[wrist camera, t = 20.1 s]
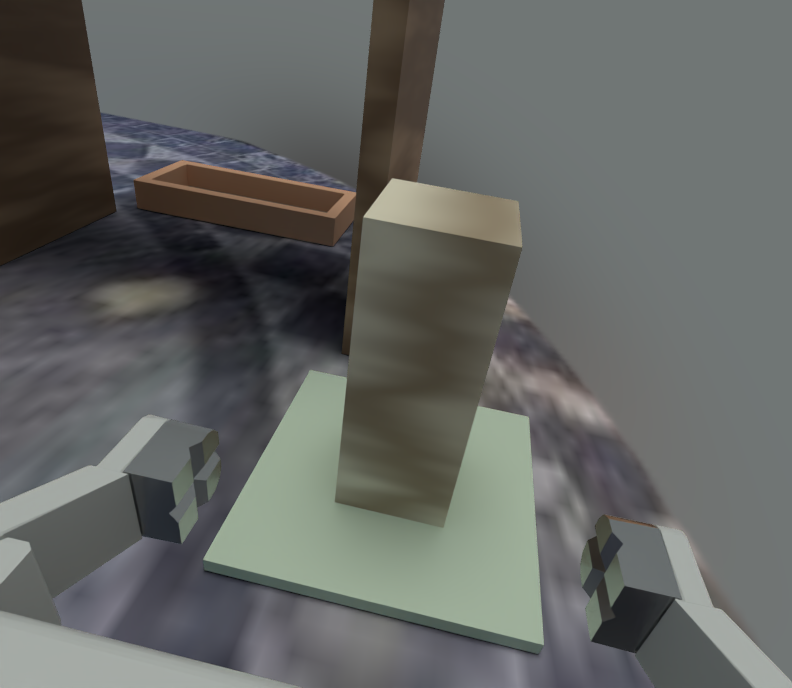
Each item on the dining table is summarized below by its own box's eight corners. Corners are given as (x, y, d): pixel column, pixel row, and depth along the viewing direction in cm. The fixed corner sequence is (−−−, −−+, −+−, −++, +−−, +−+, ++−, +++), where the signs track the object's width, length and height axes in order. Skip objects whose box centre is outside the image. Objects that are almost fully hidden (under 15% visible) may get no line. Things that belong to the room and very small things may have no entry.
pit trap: (137, 208, 46) (133, 180, 44) (184, 185, 52) (182, 160, 51) (333, 246, 44) (335, 218, 43) (355, 217, 51) (357, 192, 50)
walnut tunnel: (-44, 271, 33) (-268, -349, 19) (100, 207, 45) (25, -205, 31) (365, 358, 31) (442, -269, 17) (403, 267, 43) (467, -148, 29)
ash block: (334, 502, 21) (363, 217, 14) (360, 429, 25) (392, 178, 18) (443, 527, 21) (522, 247, 14) (452, 450, 24) (518, 201, 18)
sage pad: (204, 569, 18) (202, 560, 18) (310, 378, 28) (310, 369, 28) (538, 654, 17) (543, 645, 17) (525, 425, 28) (528, 416, 27)
